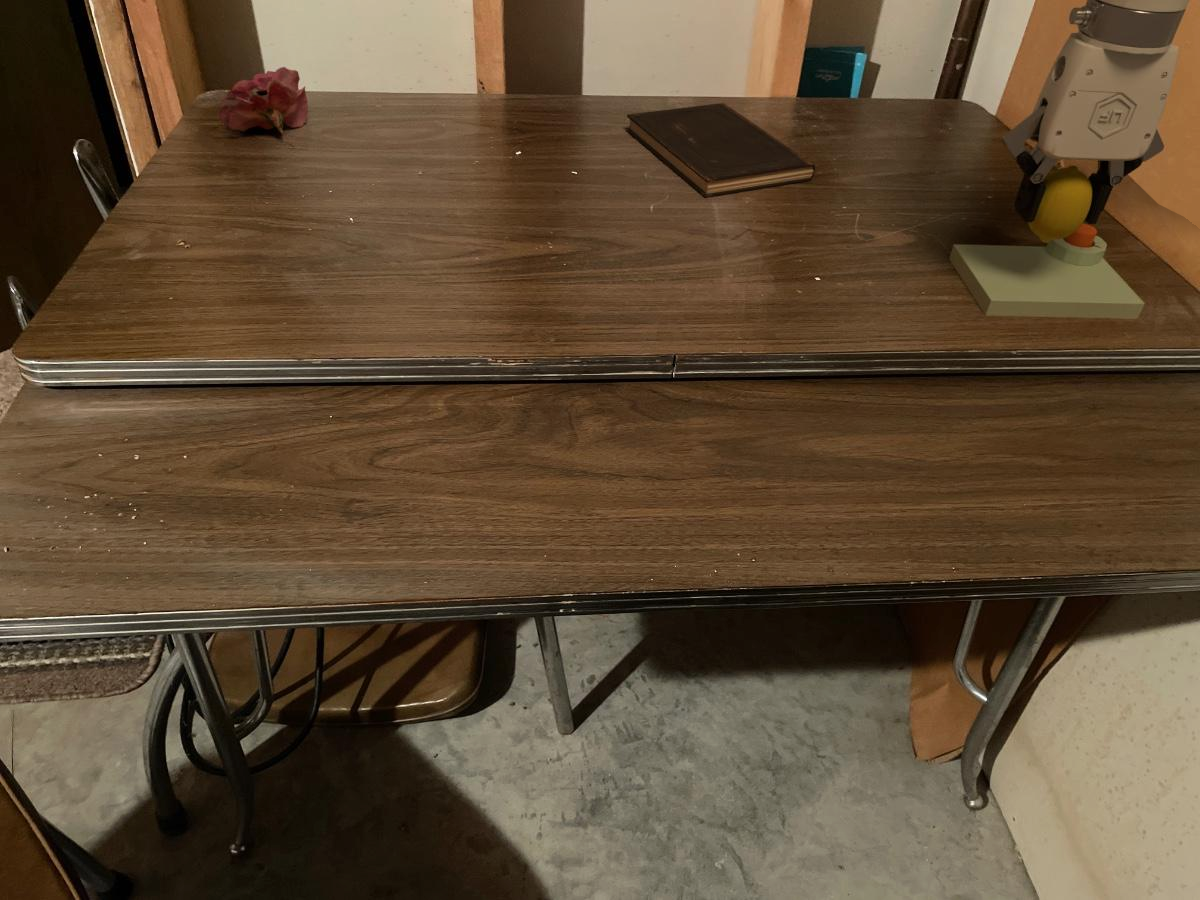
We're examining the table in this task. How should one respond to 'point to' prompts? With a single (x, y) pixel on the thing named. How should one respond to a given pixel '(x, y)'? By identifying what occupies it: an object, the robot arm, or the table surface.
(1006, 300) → the scale
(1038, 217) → the lemon
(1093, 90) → the robot arm
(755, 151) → the hardcover book
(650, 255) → the table surface
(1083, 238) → the button
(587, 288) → the table surface
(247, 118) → the flower
